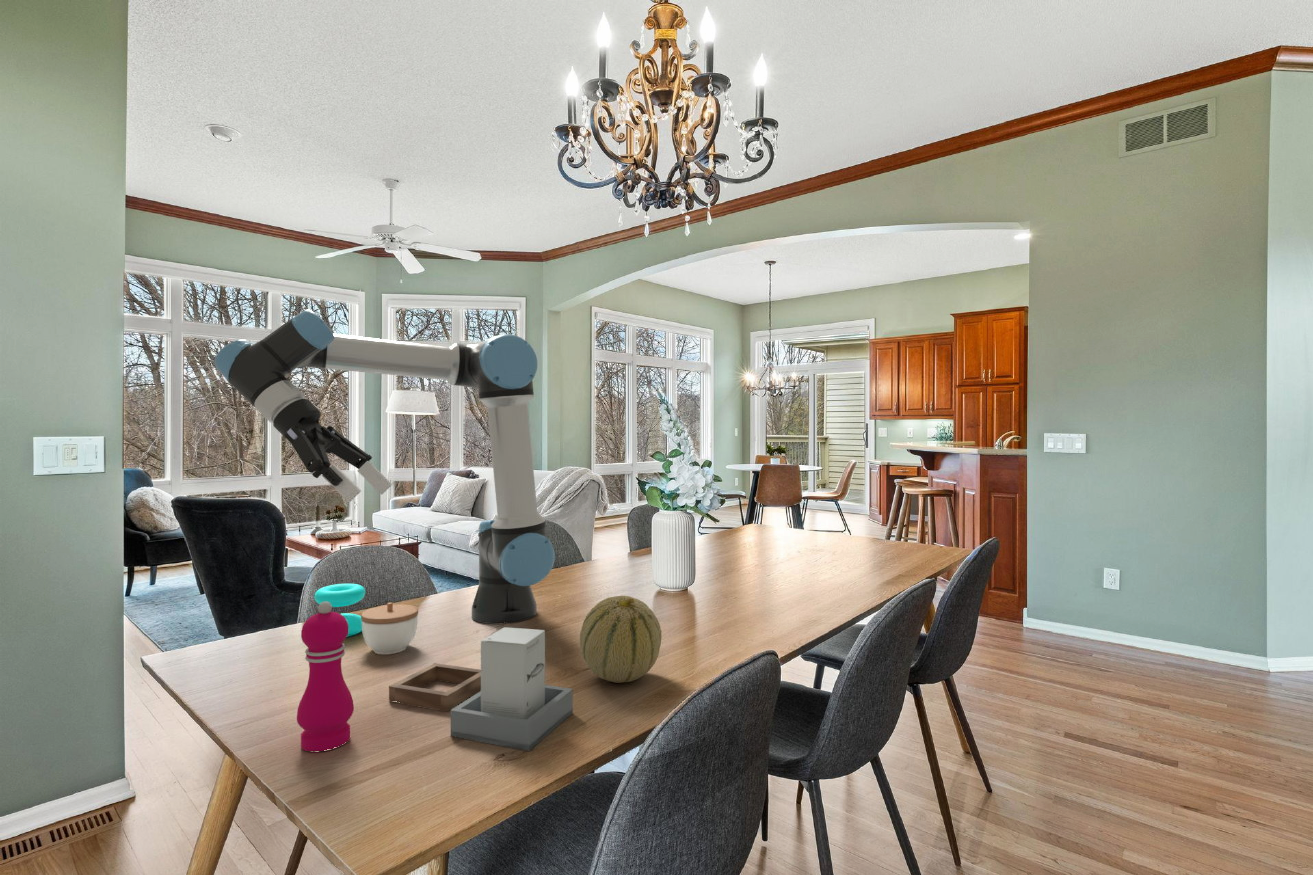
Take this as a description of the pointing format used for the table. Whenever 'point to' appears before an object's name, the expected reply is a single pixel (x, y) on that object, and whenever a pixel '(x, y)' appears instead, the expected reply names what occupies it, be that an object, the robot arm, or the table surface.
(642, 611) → the cantaloupe
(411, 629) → the lidded jar
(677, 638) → the table surface
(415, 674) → the walnut collar
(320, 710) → the pepper mill
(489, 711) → the supplement box
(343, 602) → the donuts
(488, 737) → the slate tray
